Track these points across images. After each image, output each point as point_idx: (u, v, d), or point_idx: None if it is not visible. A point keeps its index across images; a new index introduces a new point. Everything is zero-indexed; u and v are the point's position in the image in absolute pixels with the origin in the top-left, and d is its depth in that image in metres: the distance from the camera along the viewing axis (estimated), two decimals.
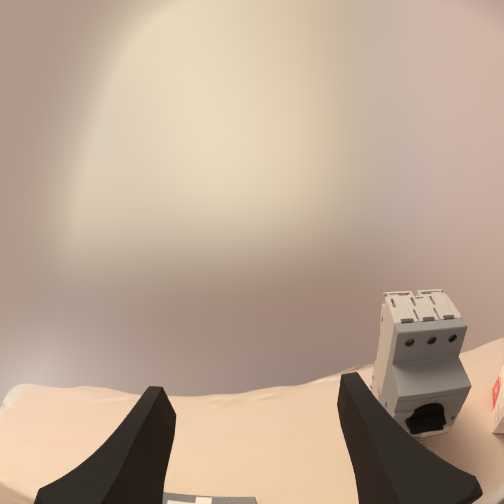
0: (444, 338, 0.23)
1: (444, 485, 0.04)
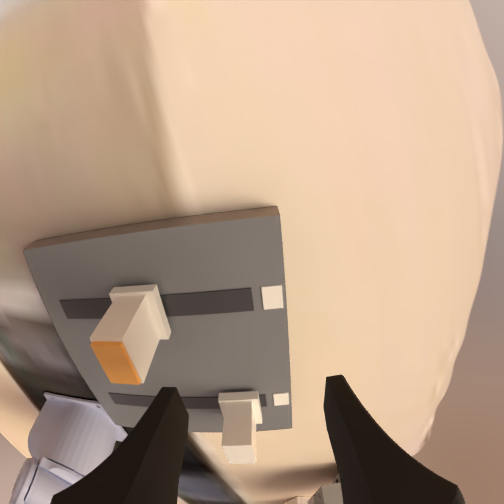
0: None
1: (424, 493, 0.04)
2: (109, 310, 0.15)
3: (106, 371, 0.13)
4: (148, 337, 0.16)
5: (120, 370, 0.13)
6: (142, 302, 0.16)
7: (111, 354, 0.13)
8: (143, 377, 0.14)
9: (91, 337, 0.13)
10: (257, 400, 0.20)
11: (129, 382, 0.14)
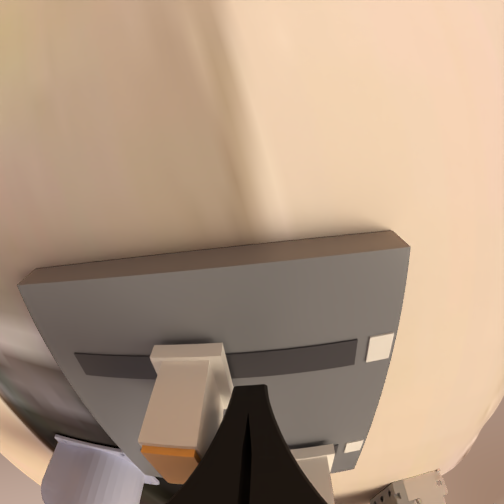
0: None
1: None
2: (157, 388, 0.10)
3: (163, 474, 0.08)
4: (215, 418, 0.11)
5: (187, 475, 0.08)
6: (207, 374, 0.10)
7: (176, 463, 0.08)
8: None
9: (139, 439, 0.08)
10: (333, 454, 0.15)
11: None
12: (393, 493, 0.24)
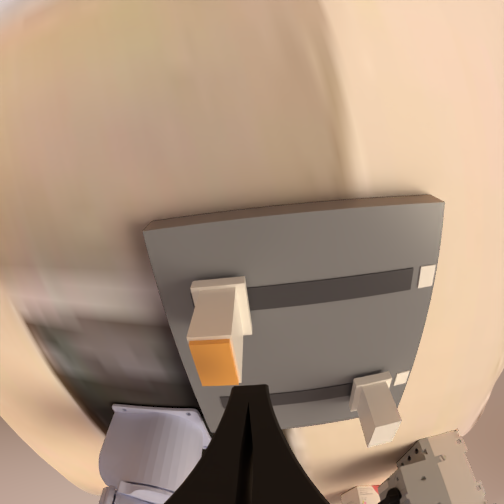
0: None
1: None
2: (198, 305, 0.15)
3: (200, 373, 0.13)
4: (239, 333, 0.16)
5: (220, 371, 0.13)
6: (235, 295, 0.15)
7: (214, 354, 0.13)
8: (240, 375, 0.14)
9: (187, 336, 0.13)
10: (390, 380, 0.20)
11: (227, 383, 0.13)
12: (420, 450, 0.29)
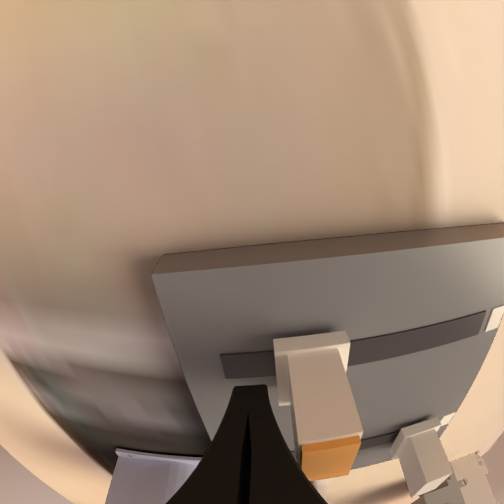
0: None
1: None
2: (295, 382, 0.10)
3: (305, 473, 0.08)
4: None
5: (332, 468, 0.08)
6: (341, 362, 0.10)
7: (335, 455, 0.07)
8: None
9: (297, 439, 0.08)
10: (439, 426, 0.15)
11: (334, 476, 0.08)
12: None
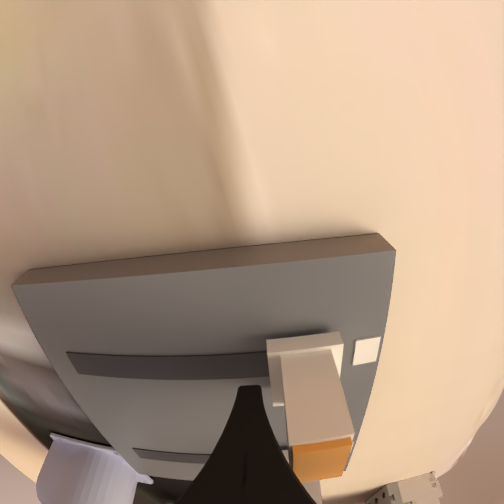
0: None
1: None
2: (287, 383, 0.10)
3: (297, 474, 0.08)
4: None
5: (325, 469, 0.08)
6: (334, 363, 0.10)
7: (326, 456, 0.07)
8: None
9: (288, 440, 0.08)
10: None
11: (327, 477, 0.08)
12: (387, 495, 0.24)
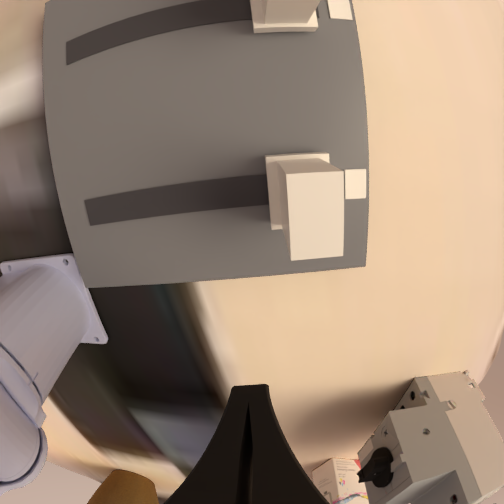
0: None
1: None
2: None
3: None
4: None
5: None
6: None
7: None
8: None
9: None
10: (327, 158, 0.13)
11: None
12: (418, 392, 0.23)
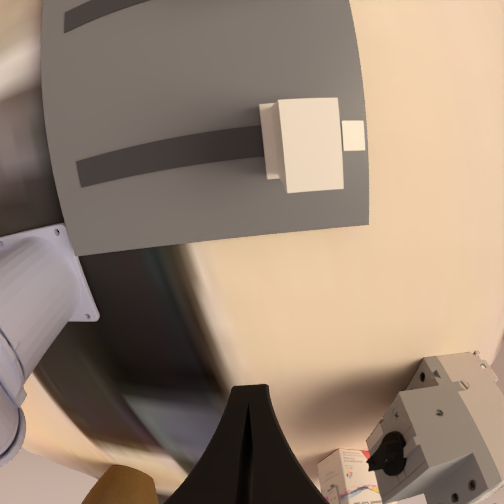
0: None
1: None
2: None
3: None
4: None
5: None
6: None
7: None
8: None
9: None
10: None
11: None
12: (428, 373, 0.22)
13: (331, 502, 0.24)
